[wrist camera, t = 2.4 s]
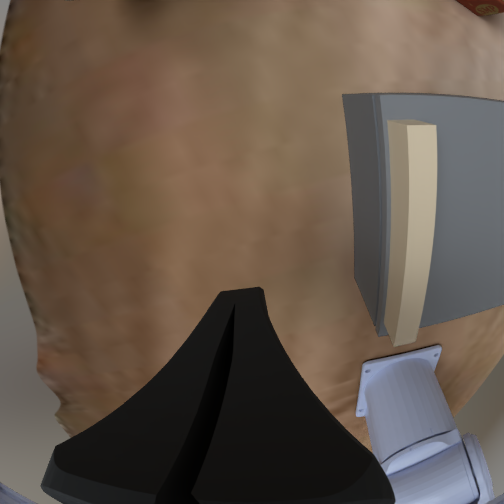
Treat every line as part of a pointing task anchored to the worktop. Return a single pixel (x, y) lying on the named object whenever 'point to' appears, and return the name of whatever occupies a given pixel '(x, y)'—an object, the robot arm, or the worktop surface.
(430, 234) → the lid
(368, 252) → the box
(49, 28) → the worktop surface
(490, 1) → the carton
